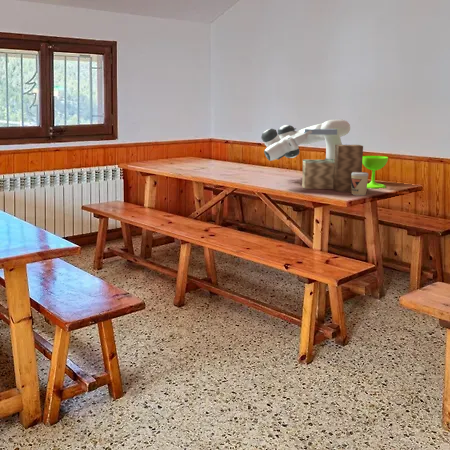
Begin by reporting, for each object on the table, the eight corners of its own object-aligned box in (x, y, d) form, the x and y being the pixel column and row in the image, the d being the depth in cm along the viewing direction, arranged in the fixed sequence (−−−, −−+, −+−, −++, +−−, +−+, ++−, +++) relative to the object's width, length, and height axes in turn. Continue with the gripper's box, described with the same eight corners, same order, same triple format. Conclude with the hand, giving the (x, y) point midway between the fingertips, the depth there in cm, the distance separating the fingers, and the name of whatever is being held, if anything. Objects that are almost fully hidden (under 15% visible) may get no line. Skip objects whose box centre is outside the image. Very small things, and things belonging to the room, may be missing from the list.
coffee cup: (346, 193, 337) (347, 172, 335) (359, 192, 342) (360, 171, 340) (358, 196, 329) (359, 174, 327) (370, 194, 334) (372, 173, 332)
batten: (304, 134, 352) (304, 129, 351) (303, 134, 355) (304, 128, 354) (337, 134, 353) (337, 129, 352) (336, 134, 355) (336, 129, 355)
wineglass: (355, 187, 362) (357, 157, 358) (364, 184, 376) (365, 155, 372) (381, 189, 354) (383, 158, 350) (389, 186, 368) (391, 156, 364)
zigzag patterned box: (304, 188, 355) (305, 161, 352) (302, 186, 365) (302, 159, 362) (345, 188, 356) (346, 161, 353) (341, 186, 366) (342, 159, 362)
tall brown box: (336, 191, 345) (338, 145, 340) (333, 189, 354) (335, 144, 349) (360, 191, 346) (363, 145, 341) (356, 189, 355) (359, 144, 349)
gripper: (290, 145, 365) (310, 134, 364) (295, 148, 345) (316, 136, 344) (285, 136, 364) (305, 125, 363) (290, 139, 344) (311, 127, 343)
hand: (310, 130), depth 353 cm, fingers closed on batten, 3 cm apart
